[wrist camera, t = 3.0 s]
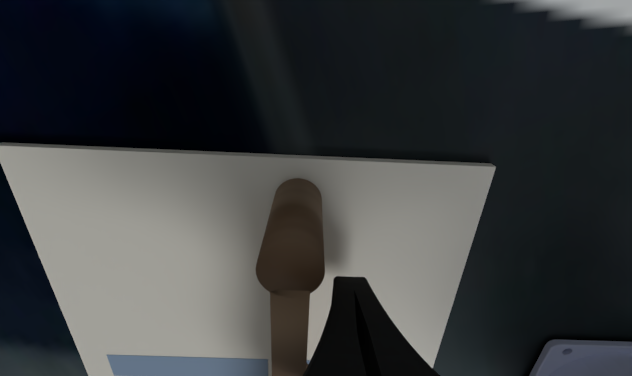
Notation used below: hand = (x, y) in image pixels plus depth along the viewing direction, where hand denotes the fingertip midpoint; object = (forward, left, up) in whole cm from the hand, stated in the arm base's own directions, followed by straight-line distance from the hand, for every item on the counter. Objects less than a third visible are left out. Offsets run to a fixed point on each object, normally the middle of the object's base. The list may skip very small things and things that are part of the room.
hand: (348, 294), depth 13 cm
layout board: (+4, +6, -2) cm, 8 cm away
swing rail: (+2, +2, -1) cm, 3 cm away
